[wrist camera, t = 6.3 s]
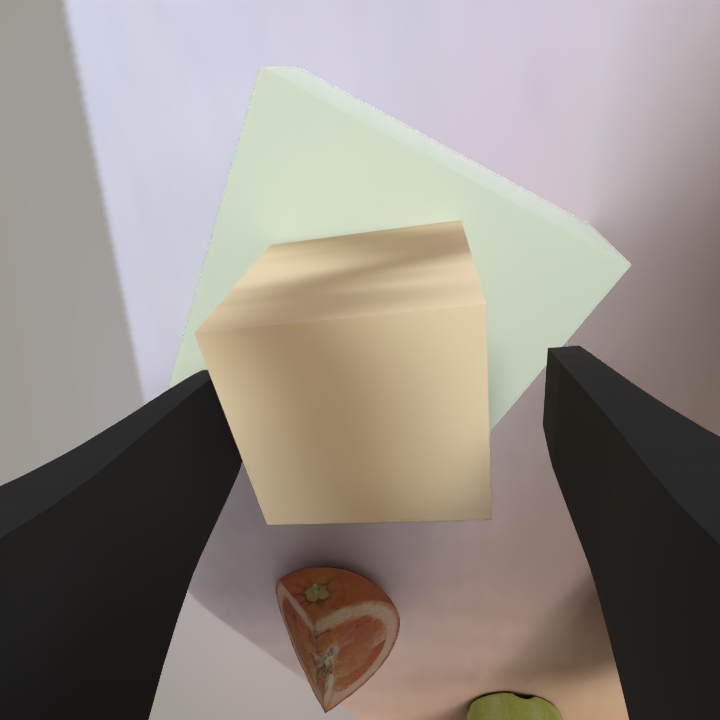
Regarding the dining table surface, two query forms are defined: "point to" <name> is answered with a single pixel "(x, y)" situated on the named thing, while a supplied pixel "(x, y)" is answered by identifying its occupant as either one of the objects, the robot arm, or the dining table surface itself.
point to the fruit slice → (337, 628)
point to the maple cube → (358, 378)
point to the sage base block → (399, 220)
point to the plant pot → (512, 708)
